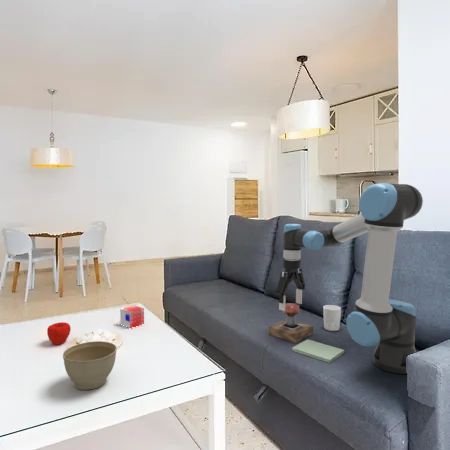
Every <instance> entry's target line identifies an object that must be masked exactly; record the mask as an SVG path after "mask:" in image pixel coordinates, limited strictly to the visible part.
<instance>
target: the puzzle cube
mask: <svg viewBox="0 0 450 450" xmlns="http://www.w3.org/2000/svg"><path fill="white" fill-rule="evenodd" d="M119 313H120V315H119V317H120V318H119V319H120V321H119V323H120V325H121V324H122V325H124V326H127V327H129V328H131V329H133V328H132V327H135V328H137V327H136V326H138V327H140V326H139V325H141V326H143V325H142V324H144V325H145V308H143V307H141V306H137V305H130V306H126V307H122V308H120V311H119ZM122 325H121V326H122ZM124 326H123V327H124ZM127 327H126V328H127ZM129 328H128V329H129Z"/></svg>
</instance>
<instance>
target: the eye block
mask: <svg viewBox="0 0 450 450" xmlns="http://www.w3.org/2000/svg"><path fill="white" fill-rule="evenodd" d="M313 334H314V325H310V324H308V323H307V324H305V323H303V322H299V321H296V327H295V328H289V327H286V318H285V319H283V320H280V321H279V322H277V323H273V324H272V325H269V326H268V335H269V336H272V337H277V338H279V339H283V340H286V341H289V342H292V343H294V344H295V343H296V344H297V343H299V342H300V341H302V340H304V339H306V338H308V337H310V336H311V335H313Z"/></svg>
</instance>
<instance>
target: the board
mask: <svg viewBox="0 0 450 450" xmlns="http://www.w3.org/2000/svg"><path fill="white" fill-rule="evenodd" d="M291 351H292V352H295V353H298V354H300V355H303V356H306V357H310V358H313V359H316V360H319V361H323V362H324V363H328V364H330V363H332V362H334V361H335V360H336V359H338V358H339V357H341V356H342V355H343V354H344V353H345V349H342V348H339V347H335V346H333V345H328V344H324V343H322V342H318V341H315V340H313V339H306V340H303V341H302V342H300V343H298V344H296V345H294V346H292V347H291Z"/></svg>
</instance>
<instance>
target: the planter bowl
mask: <svg viewBox="0 0 450 450" xmlns="http://www.w3.org/2000/svg"><path fill="white" fill-rule="evenodd" d="M117 350H118V349H117V346H116V344H114V343H113V342H109V341H102V340H101V341H99V340H98V341H97V340H96V341H87V342H82V343H78V344H75V345H72V346H69V348H67V349H65V350H64V351H63V353H62V358H63V364H64V369H65V372H66V374H67V376H68V377H69V379H70V380H71V382H73V383H74V387H75V389H78V390H83V391H87V390H94V389H97V388H99V387H102V386H103V385H105V383H106V382H107V379H108V377H109V375H110V374H111V372H112V371H113V368H114V365H115V362H116V358H117V355H116V354H117Z"/></svg>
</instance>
